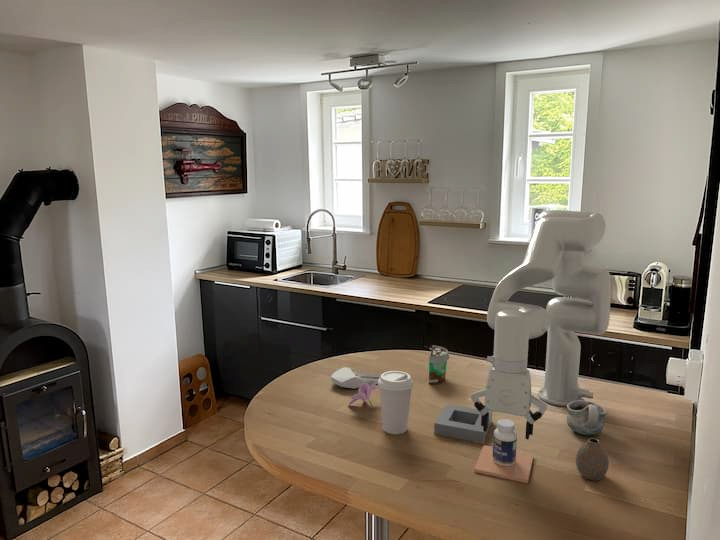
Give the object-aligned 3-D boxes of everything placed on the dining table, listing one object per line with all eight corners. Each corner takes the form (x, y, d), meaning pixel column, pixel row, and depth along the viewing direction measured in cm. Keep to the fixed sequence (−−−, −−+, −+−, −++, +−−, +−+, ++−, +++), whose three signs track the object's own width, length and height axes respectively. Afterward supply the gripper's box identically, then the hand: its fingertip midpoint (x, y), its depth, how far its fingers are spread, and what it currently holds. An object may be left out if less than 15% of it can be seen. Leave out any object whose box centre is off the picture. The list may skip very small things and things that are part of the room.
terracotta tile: (533, 457, 133) (533, 454, 133) (527, 483, 122) (528, 480, 122) (483, 448, 137) (483, 445, 137) (474, 471, 126) (474, 468, 126)
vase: (569, 468, 128) (572, 433, 127) (597, 467, 129) (600, 432, 127) (583, 485, 121) (586, 448, 120) (613, 483, 122) (616, 447, 120)
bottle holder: (491, 421, 152) (492, 411, 151) (483, 443, 140) (483, 432, 139) (446, 413, 157) (446, 403, 156) (434, 433, 145) (434, 423, 144)
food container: (447, 387, 175) (448, 358, 174) (428, 386, 177) (429, 356, 175) (449, 373, 187) (450, 346, 186) (431, 372, 189) (432, 344, 187)
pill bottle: (489, 462, 129) (491, 424, 127) (495, 452, 133) (497, 415, 132) (511, 469, 126) (514, 430, 124) (518, 458, 131) (520, 420, 129)
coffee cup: (388, 440, 141) (389, 385, 138) (370, 425, 149) (371, 373, 147) (419, 432, 145) (420, 379, 143) (400, 418, 154) (401, 367, 151)
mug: (595, 423, 151) (598, 389, 149) (616, 446, 138) (619, 409, 137) (560, 423, 151) (562, 389, 149) (578, 446, 138) (581, 409, 137)
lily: (384, 403, 166) (373, 376, 167) (393, 403, 156) (380, 374, 157) (351, 418, 163) (340, 390, 165) (358, 420, 153) (345, 390, 154)
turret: (391, 393, 177) (394, 379, 177) (333, 390, 171) (335, 376, 170) (381, 381, 187) (383, 368, 186) (325, 379, 180) (327, 365, 180)
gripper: (469, 364, 125) (466, 433, 128) (548, 375, 118) (543, 447, 122) (475, 354, 132) (472, 419, 135) (550, 363, 125) (546, 432, 128)
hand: (506, 432), depth 128 cm, fingers open, 9 cm apart
